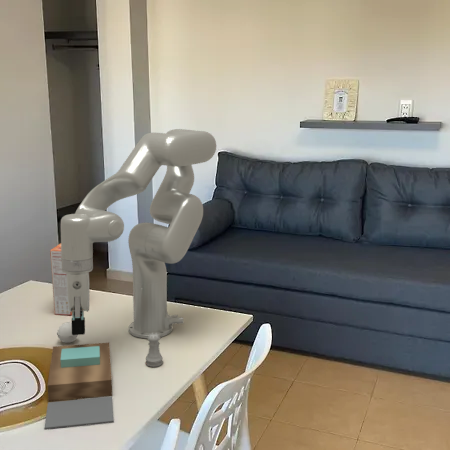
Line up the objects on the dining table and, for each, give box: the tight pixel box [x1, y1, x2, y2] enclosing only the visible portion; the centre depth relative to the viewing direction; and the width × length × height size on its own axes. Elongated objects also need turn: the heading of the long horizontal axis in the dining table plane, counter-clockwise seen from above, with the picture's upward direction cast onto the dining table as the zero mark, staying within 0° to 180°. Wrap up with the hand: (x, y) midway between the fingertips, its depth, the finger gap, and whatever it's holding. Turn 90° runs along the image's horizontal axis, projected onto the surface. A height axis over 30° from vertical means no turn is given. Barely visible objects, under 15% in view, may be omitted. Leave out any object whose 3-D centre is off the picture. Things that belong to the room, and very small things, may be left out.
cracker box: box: [49, 242, 72, 316], centre depth 183 cm, size 14×6×21 cm, turn 172°
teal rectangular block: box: [61, 346, 100, 368], centre depth 142 cm, size 9×6×2 cm, turn 102°
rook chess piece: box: [144, 333, 164, 368], centre depth 149 cm, size 4×4×8 cm
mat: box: [44, 395, 115, 430], centre depth 127 cm, size 14×10×1 cm
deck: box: [46, 341, 113, 403], centre depth 142 cm, size 14×20×4 cm
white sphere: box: [56, 321, 79, 344], centre depth 160 cm, size 8×6×6 cm
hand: (78, 333), depth 149 cm, fingers closed
